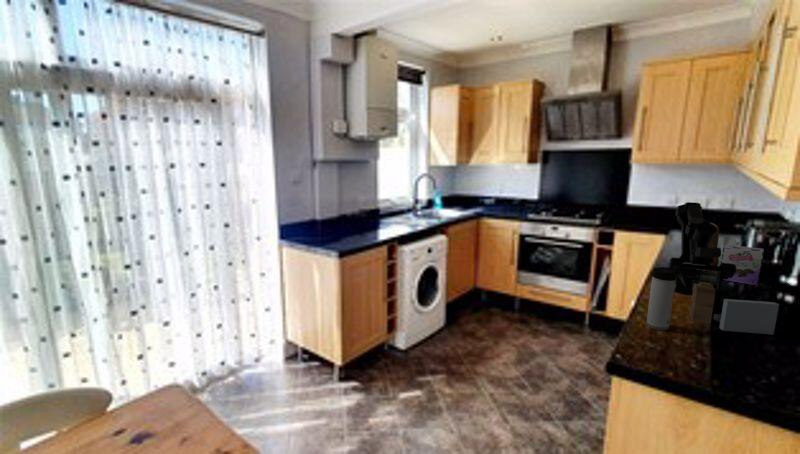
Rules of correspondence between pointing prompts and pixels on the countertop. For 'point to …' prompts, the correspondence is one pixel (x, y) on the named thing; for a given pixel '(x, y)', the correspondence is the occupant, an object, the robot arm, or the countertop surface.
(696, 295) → the brown box with handle
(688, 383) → the countertop surface
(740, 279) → the candy box
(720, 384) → the countertop surface
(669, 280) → the travel mug
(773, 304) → the grey stool
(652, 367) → the countertop surface
